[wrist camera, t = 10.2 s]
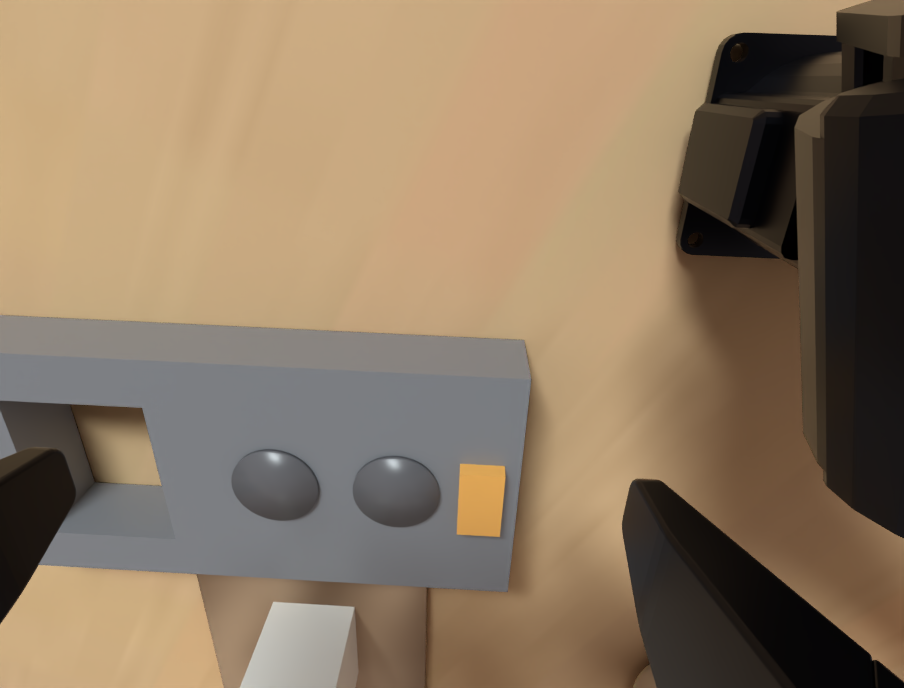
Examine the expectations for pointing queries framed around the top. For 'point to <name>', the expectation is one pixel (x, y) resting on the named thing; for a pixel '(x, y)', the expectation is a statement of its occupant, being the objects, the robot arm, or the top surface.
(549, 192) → the top surface
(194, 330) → the power strip
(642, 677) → the plastic bottle
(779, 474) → the top surface
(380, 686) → the pad
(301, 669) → the plug
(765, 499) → the top surface
